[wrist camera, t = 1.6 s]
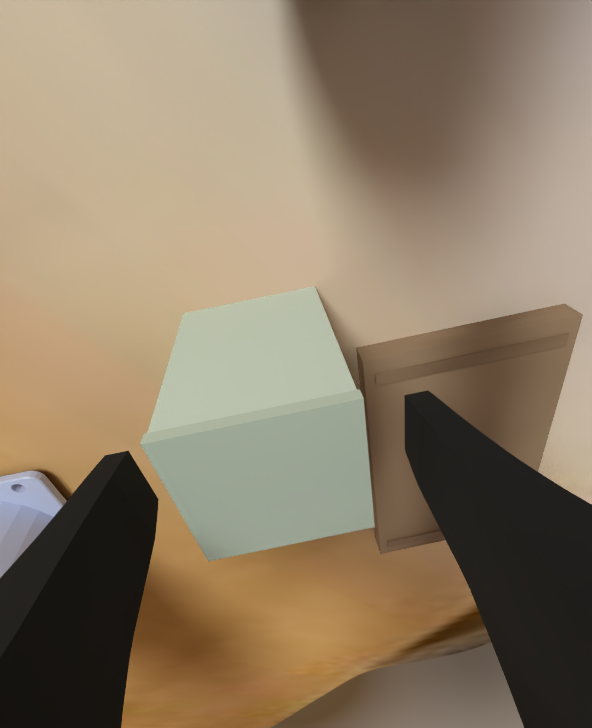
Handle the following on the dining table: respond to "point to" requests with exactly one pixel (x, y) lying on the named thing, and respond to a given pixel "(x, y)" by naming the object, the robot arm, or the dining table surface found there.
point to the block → (261, 427)
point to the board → (460, 402)
